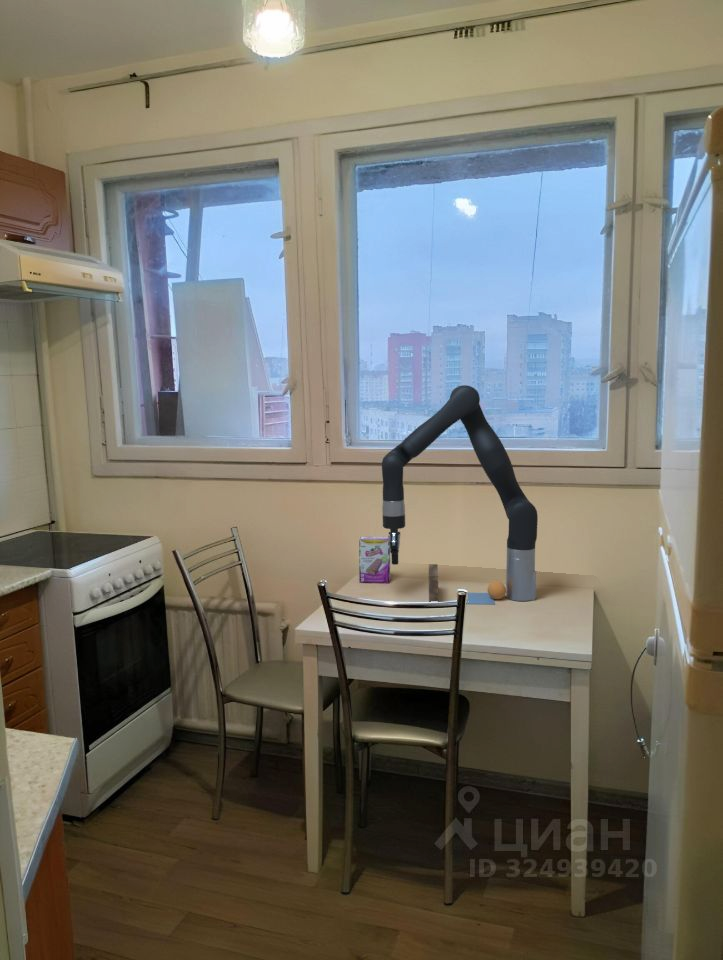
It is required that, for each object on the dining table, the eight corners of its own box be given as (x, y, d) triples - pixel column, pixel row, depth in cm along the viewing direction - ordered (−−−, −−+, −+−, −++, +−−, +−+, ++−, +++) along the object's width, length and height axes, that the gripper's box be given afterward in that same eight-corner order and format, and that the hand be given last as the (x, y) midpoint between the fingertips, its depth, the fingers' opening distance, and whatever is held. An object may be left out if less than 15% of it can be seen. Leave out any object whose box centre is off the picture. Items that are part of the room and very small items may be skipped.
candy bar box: (359, 583, 256) (358, 539, 254) (360, 579, 261) (360, 536, 259) (390, 583, 255) (389, 539, 253) (390, 579, 260) (390, 536, 258)
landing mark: (491, 593, 242) (491, 592, 242) (495, 604, 230) (495, 603, 230) (456, 593, 243) (456, 592, 243) (458, 603, 231) (458, 603, 231)
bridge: (437, 591, 245) (437, 564, 243) (438, 605, 230) (438, 576, 229) (428, 591, 245) (428, 564, 244) (429, 604, 230) (429, 576, 229)
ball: (508, 591, 238) (499, 575, 237) (510, 596, 232) (501, 580, 231) (492, 599, 239) (483, 584, 238) (493, 604, 233) (485, 589, 232)
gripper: (404, 516, 228) (405, 569, 230) (405, 509, 241) (406, 559, 243) (381, 517, 228) (382, 569, 231) (383, 509, 241) (385, 559, 244)
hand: (395, 563), depth 237 cm, fingers closed
